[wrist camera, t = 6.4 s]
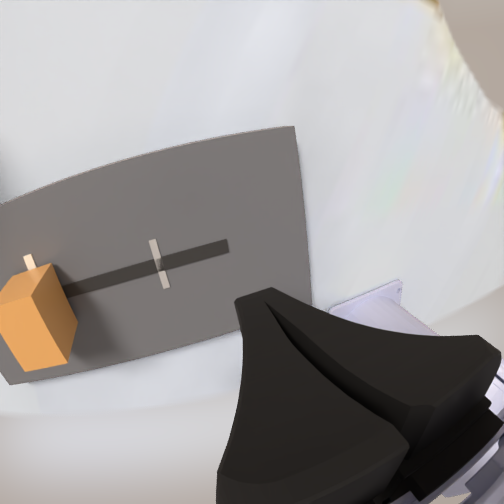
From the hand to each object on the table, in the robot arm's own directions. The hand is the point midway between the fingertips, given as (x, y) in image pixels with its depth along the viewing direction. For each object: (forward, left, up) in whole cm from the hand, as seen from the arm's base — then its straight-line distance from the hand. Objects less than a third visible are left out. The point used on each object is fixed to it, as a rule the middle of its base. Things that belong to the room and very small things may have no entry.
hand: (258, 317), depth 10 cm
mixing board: (0, +6, -9) cm, 11 cm away
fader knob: (-1, +11, -8) cm, 13 cm away
